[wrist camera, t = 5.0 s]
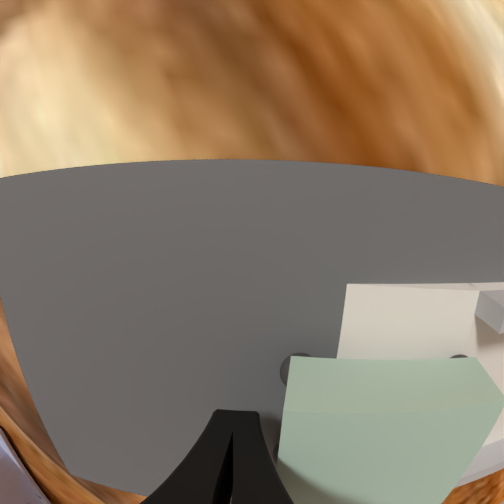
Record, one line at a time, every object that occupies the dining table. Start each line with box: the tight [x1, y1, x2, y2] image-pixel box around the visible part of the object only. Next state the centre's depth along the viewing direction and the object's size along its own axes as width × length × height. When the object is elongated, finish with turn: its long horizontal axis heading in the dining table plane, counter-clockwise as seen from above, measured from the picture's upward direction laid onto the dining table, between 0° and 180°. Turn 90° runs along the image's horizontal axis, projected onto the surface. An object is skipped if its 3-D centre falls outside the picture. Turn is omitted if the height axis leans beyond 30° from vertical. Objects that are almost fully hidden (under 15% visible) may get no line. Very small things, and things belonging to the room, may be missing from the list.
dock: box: [0, 159, 504, 504], centre depth 9 cm, size 16×28×4 cm, turn 89°
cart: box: [272, 353, 504, 504], centre depth 8 cm, size 6×7×3 cm
